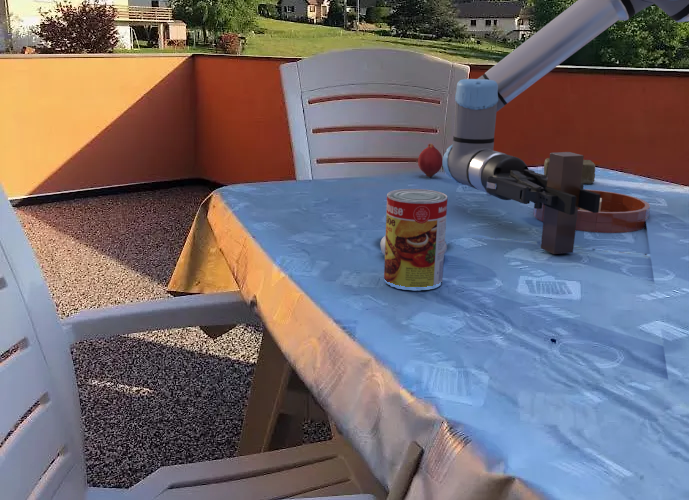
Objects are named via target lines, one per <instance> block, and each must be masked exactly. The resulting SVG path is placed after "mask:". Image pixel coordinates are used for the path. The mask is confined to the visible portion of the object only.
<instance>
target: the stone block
mask: <svg viewBox="0 0 689 500" xmlns="http://www.w3.org/2000/svg"><path fill="white" fill-rule="evenodd" d="M549 159H550V157H547V158H545V160H544V164H543V175H545V176H546V178H547V177H548V169H549ZM595 177H596V164H595V163H594V162H593V161H592V160H591V159H583V168H582V177H581V183H582V184H584V185H591V184H593V183H594V182H595V181H596V179H595Z"/></svg>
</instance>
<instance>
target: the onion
mask: <svg viewBox="0 0 689 500" xmlns="http://www.w3.org/2000/svg"><path fill="white" fill-rule="evenodd" d="M442 161H443V155H442V154H441V152H440V151H439V150H438V149H437V148H436V147H435V145H434V143H431V142H430V143H428V144H427V147H426V148H424V149H423V150H421V152H420V153H419V156H418V160H417V166H418V168H419V170H420V171H421V172H422V173H423V174H424V175H425V176H426V177H428V178H432V177H433V176H435V175H436V174H438V173H439V172H440V170H442V168H443V163H442Z"/></svg>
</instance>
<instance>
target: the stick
mask: <svg viewBox="0 0 689 500" xmlns="http://www.w3.org/2000/svg"><path fill="white" fill-rule="evenodd" d="M549 158H550V159H549V169H548V179H547V187H550V188H553V189H556V190H559V191H562V192H565V193H568V194H571V195H574V196H576V205H575V214H574V215H569V214H567V213H564V212H561V211H559V210H556V209H553V208H551V207H548V206H545V209H544V220H543V222H542V230H541V231H542V232H541V242H540V249H542V250H544V251H546V252H548V253H550V254H552V255H563V254H572V253H574V248H575V247H574V246H575V239H576V238H575V237H576V231H577V230H576V221H577V212H578V203H579V194H580V186H581V177H582V168H583V160H585V157H584V155H583V154H579V153H575V152H571V151H562V152H561V151H560V152H559V151H558V152H550V153H549Z"/></svg>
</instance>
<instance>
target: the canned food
mask: <svg viewBox="0 0 689 500" xmlns="http://www.w3.org/2000/svg"><path fill="white" fill-rule="evenodd" d="M447 212H448V195H447V194H445V193H444V192H441V191H438V190H433V189H425V188H424V189H423V188H401V189H395V190H391V191H389V192H388V193H386V214H385V235H386V238H385V255H384V266H383V267H384V269H383V270H384V271H383V272H384V273H383V280H384V279H385V280H386V281H387V282H390V283H393V284H395V285H399V286H400V285H401V286H405V287H427V286H433V285H436V284H439V283H440V282H442V283H443V279H444V278H443V277H444V261H445V254H444V247H445V242H446V230H447V229H446V227H447Z"/></svg>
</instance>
